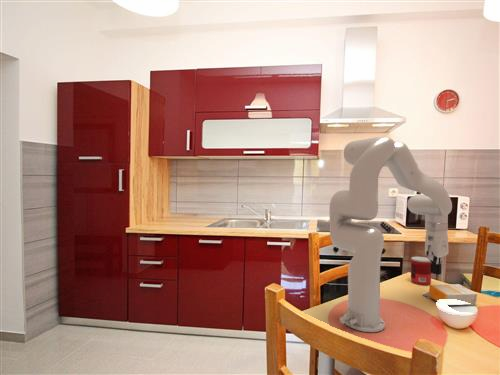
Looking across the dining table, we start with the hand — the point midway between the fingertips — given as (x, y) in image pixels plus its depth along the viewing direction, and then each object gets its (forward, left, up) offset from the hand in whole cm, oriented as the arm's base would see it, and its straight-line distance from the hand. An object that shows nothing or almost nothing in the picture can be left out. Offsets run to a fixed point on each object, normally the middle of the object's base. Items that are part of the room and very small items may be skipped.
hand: (435, 273), depth 116 cm
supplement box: (-5, -2, -7) cm, 9 cm away
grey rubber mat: (+4, 0, -10) cm, 11 cm away
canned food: (+14, +12, -10) cm, 21 cm away
